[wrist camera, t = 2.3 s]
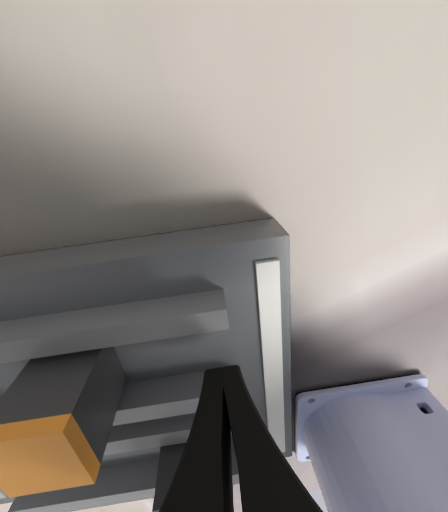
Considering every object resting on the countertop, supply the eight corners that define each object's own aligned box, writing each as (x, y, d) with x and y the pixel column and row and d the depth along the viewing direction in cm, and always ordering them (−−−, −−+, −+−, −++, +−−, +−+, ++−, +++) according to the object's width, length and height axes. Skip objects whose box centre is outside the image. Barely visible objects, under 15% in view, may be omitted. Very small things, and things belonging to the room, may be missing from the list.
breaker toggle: (108, 333, 12) (62, 432, 8) (126, 378, 13) (94, 483, 9) (42, 343, 12) (-38, 448, 8) (67, 387, 13) (9, 498, 9)
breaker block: (273, 217, 13) (344, 296, 7) (281, 419, 20) (319, 552, 13) (-137, 275, 12) (-484, 419, 6) (16, 462, 19) (-74, 621, 13)
